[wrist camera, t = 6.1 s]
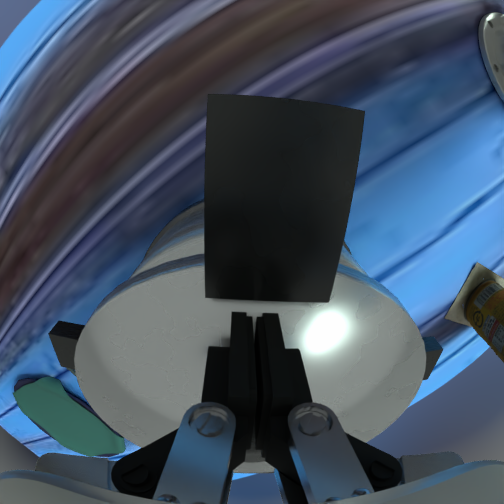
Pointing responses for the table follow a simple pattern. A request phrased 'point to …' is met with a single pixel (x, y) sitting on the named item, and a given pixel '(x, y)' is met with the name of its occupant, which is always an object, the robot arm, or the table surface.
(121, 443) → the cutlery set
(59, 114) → the table surface
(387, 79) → the table surface
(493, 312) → the condiment
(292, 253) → the cooker lid
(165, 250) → the cooker body
